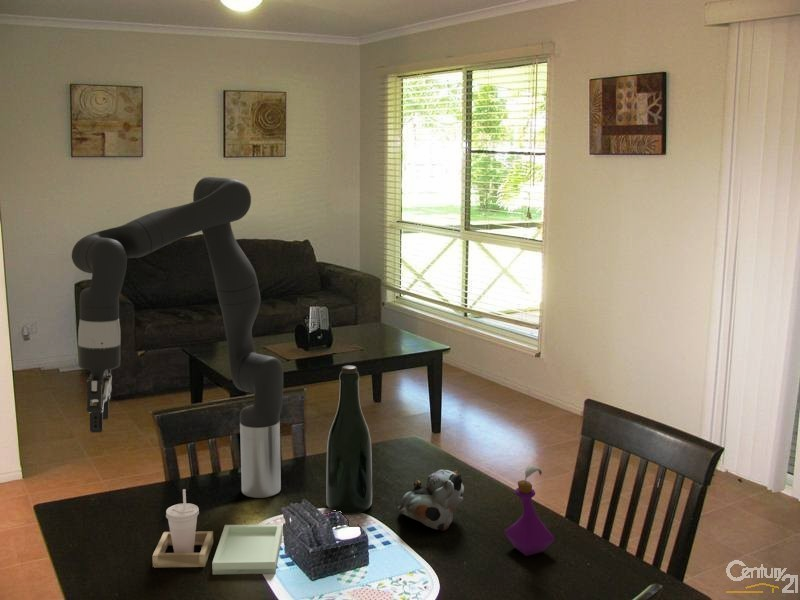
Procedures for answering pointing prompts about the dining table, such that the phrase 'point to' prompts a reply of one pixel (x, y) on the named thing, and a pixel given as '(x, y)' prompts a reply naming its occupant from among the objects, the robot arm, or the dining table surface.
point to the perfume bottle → (529, 522)
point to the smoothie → (183, 525)
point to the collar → (183, 558)
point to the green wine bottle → (349, 451)
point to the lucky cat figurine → (434, 499)
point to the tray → (248, 549)
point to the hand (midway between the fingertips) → (99, 425)
